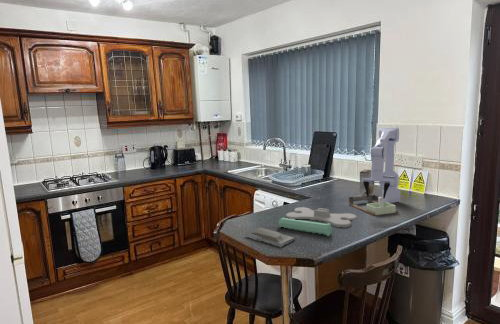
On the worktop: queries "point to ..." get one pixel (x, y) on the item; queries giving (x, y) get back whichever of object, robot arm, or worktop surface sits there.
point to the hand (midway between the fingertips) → (375, 197)
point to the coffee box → (362, 175)
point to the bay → (360, 198)
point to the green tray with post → (381, 207)
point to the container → (306, 226)
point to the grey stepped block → (272, 236)
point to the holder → (322, 216)
